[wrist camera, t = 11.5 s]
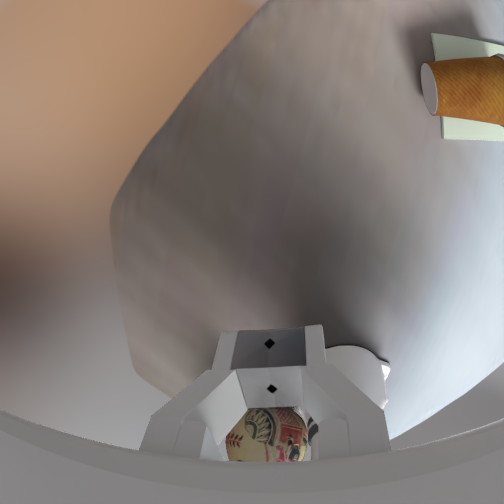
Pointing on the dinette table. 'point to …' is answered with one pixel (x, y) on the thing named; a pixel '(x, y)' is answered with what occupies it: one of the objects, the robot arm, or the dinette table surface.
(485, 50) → the mat
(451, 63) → the disposable coffee cup
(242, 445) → the ceramic jug
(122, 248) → the dinette table surface
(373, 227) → the dinette table surface
